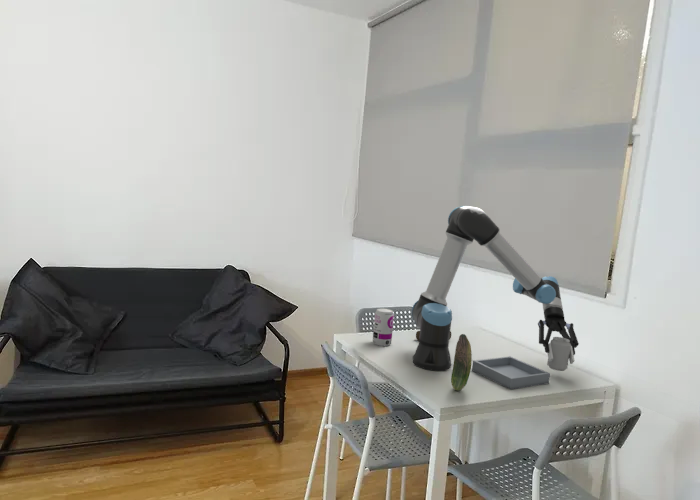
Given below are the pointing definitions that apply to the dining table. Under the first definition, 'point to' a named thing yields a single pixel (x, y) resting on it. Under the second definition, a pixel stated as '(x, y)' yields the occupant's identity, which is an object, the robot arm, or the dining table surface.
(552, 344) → the can
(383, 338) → the supplement can
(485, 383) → the dining table surface
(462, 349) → the vegetable
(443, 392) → the dining table surface
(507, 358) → the box
